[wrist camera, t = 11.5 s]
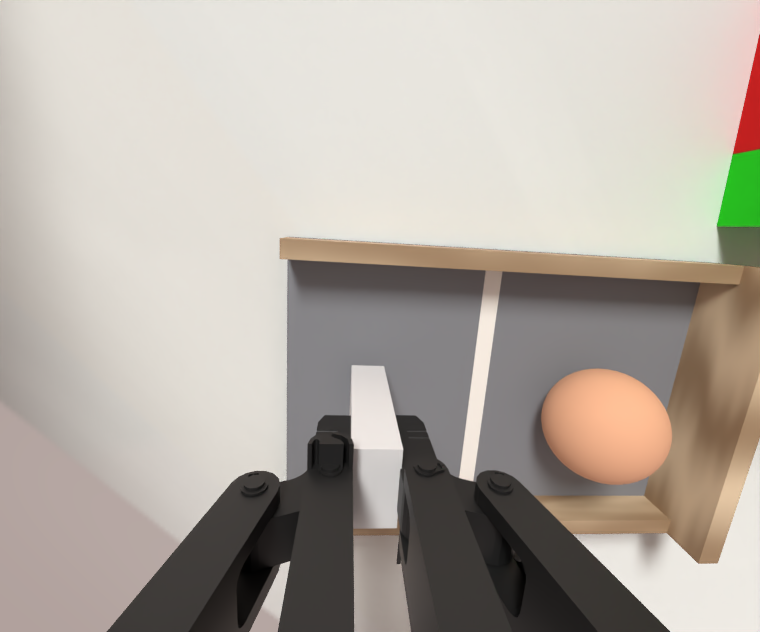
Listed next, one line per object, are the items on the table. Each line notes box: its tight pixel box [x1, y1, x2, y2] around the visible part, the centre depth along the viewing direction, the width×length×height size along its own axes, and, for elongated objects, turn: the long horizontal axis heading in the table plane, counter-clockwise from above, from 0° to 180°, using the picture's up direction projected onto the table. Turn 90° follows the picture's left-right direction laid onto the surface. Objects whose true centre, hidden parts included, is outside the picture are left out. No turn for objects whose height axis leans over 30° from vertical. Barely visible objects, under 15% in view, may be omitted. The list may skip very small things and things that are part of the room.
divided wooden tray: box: [280, 237, 760, 564], centre depth 17 cm, size 14×21×4 cm, turn 86°
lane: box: [287, 237, 720, 496], centre depth 19 cm, size 14×21×1 cm, turn 86°
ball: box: [541, 368, 672, 485], centre depth 17 cm, size 5×5×5 cm
